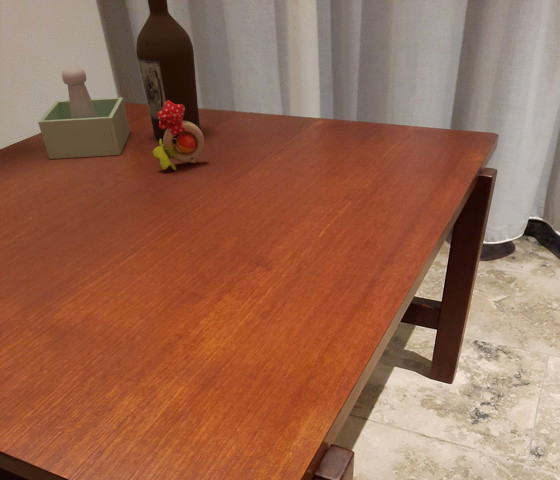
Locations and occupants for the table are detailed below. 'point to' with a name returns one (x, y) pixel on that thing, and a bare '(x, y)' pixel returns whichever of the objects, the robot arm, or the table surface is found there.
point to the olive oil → (167, 66)
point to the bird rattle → (186, 141)
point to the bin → (85, 130)
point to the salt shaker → (78, 93)
